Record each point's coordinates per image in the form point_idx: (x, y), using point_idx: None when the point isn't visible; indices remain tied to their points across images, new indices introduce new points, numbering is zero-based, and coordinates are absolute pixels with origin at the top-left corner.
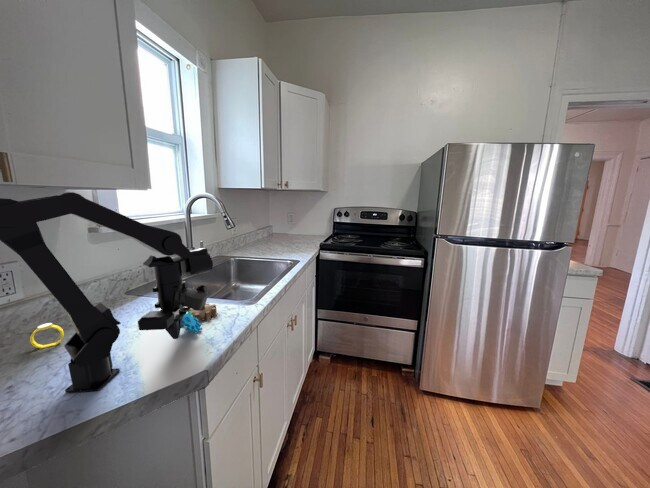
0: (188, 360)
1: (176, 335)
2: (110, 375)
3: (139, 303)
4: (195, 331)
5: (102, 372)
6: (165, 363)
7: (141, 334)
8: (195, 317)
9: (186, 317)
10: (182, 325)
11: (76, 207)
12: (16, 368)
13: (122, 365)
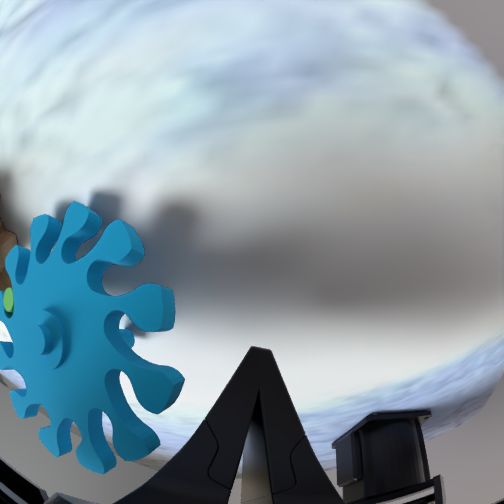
0: (465, 227)
1: (279, 378)
2: (392, 421)
3: (14, 378)
4: (135, 240)
5: (414, 442)
6: (421, 324)
7: (135, 403)
8: (1, 265)
9: (48, 354)
10: (174, 388)
11: None
12: None
13: (337, 417)
